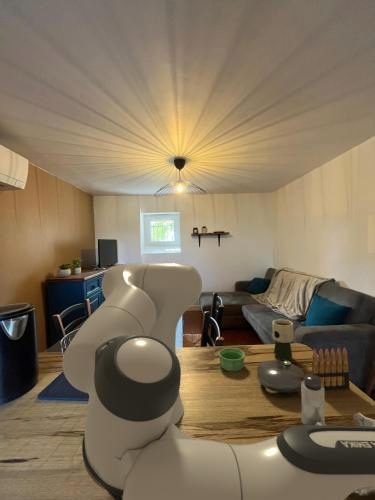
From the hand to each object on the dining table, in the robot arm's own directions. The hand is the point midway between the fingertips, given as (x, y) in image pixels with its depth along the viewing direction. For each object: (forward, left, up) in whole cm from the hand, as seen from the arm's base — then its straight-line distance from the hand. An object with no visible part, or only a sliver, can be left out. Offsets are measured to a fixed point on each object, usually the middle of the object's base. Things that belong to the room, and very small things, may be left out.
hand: (337, 420), depth 54 cm
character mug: (+12, +37, -6) cm, 39 cm away
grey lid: (+1, +22, -5) cm, 23 cm away
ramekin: (-8, +37, -6) cm, 38 cm away
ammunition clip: (+14, +17, -6) cm, 23 cm away
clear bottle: (0, +7, -6) cm, 9 cm away
